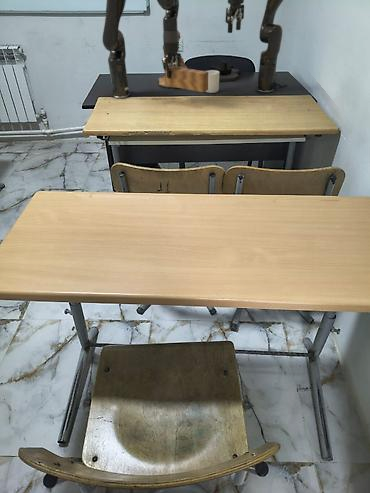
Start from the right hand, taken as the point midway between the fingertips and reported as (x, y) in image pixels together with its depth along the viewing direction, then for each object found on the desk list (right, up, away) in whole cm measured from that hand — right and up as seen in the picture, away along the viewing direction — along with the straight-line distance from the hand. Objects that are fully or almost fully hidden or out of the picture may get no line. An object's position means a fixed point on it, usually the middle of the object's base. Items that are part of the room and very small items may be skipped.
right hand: (234, 31), depth 176 cm
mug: (-11, -16, +32) cm, 37 cm away
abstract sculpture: (0, +3, +55) cm, 55 cm away
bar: (-24, -22, +12) cm, 35 cm away
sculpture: (-29, -3, +48) cm, 56 cm away
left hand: (-31, -16, +13) cm, 37 cm away
